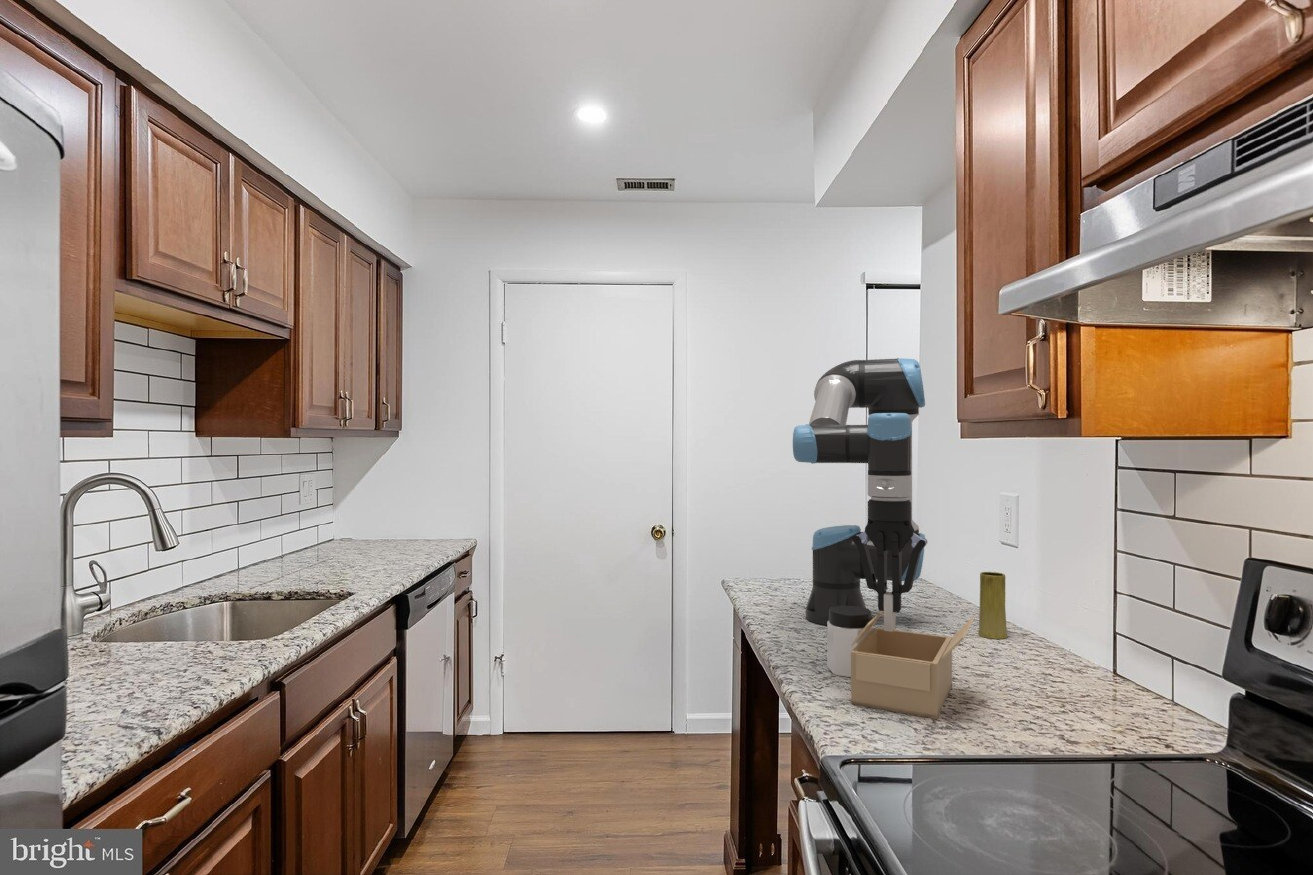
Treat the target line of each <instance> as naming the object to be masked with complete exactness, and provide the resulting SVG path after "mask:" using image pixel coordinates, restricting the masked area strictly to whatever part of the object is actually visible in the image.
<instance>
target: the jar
mask: <svg viewBox="0 0 1313 875" xmlns="http://www.w3.org/2000/svg"><path fill="white" fill-rule="evenodd" d="M872 619H873V615H872V611H871V610H870V609H869V608H867V607H866V608H863V607H858V606H835V607H831V608H830V609H829V621H827V625H826V626H827V628H826V630H827V634H826V635H827V636H826V637H827V639H826V640H827V641H826V642H827V645H826V646H827V647H826V648H827V649H826V651H827V661H826V663H827V664H826V665H827V668H828V670H829V671H830V672H831V673H832V674H833V675H834V676H839V677H846V678H851V651H852V650H853V649H854V648H855V647H856V646H857V645H858V644H859V643H860V642H861V641H862V640H863V639H864V638H865V637H866V636H867V635H868V634H869V633H870V632H871V631H872V630H873V629H874V628H875V627H874V625H873V626H872V627H871V628H870V629H869V630H868V631H867V632H866V633H865V634H864V635H863V636H862V637H861V638H860V639H859V640H858V641H857V642H856V643H855V644H854V645H853V646H852V645H851V644H852V643H853V642H854V640H855V639H856V638H857V637H858V635H859V634H860V633H861V631H862V630H863V629H864V627H865V626H866V625H867V624H868V623H869V622H870V621H871V620H872Z"/></svg>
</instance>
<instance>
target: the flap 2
mask: <svg viewBox="0 0 1313 875" xmlns="http://www.w3.org/2000/svg"><path fill="white" fill-rule="evenodd" d="M974 619H975V616H974V615H972V616H971V617H970V619H968V620H967V621H966V622H965V623H964V624H963V625H962V626H961V627H960V628H959V629H958V630H957V631H956V632H955V633H954V634H953V636H952V640H951V642H950V644H949V645H948V647H947V649H946V651H945V653H944V654H943V656H942V658H943V659H944V658H945V657H946V656H947V655H948V654H949V653H950V652H951V651H952V652H953V650H954V649H955V648H956V647H957V646H959V644H960V643H961V642H962V641H963V640H964V639H965V638H966V636H967V634H968V632H969V629H970V628H971V626H972V623H973V622H974Z"/></svg>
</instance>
